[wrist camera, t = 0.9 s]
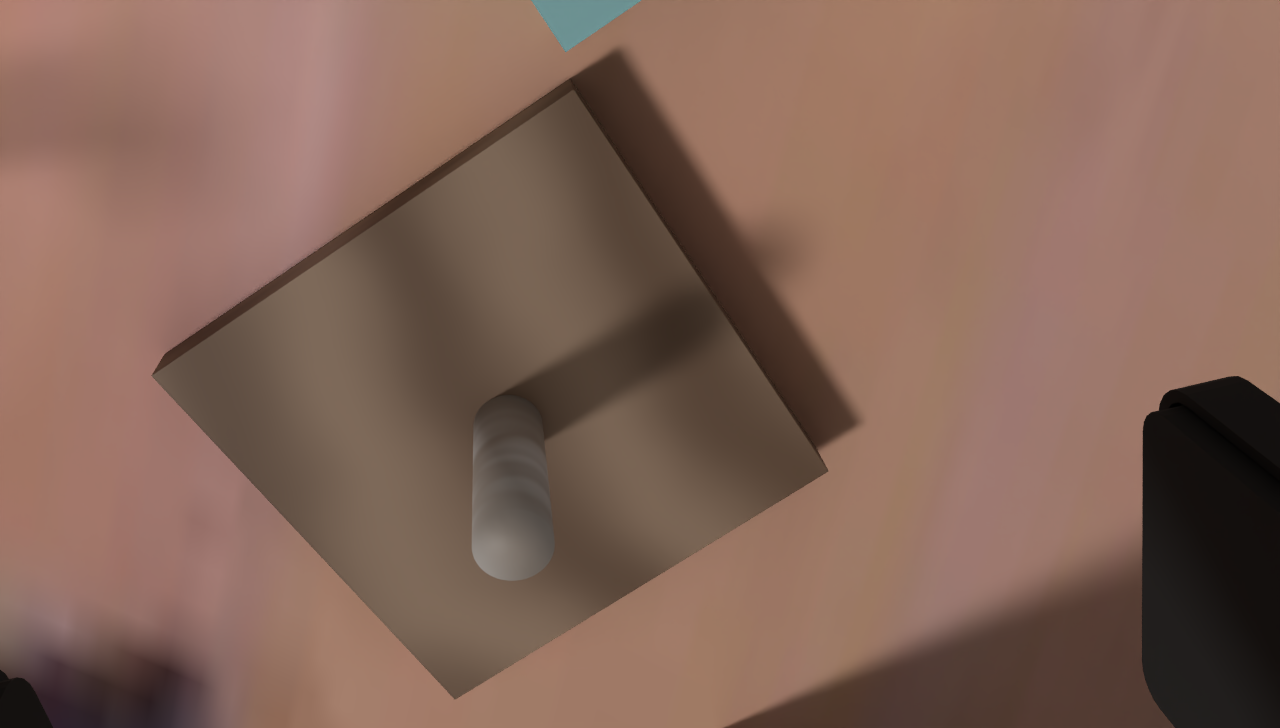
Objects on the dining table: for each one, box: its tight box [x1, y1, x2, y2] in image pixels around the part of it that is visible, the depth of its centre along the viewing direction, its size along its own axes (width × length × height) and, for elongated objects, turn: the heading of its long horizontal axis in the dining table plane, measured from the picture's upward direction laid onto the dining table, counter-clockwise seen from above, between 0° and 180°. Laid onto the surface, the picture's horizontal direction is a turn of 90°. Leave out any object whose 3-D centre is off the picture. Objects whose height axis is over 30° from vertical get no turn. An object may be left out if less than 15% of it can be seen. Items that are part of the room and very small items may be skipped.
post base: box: [152, 79, 828, 699], centre depth 33 cm, size 14×14×8 cm
